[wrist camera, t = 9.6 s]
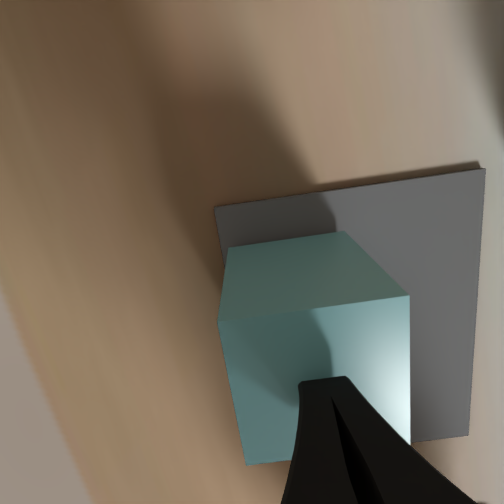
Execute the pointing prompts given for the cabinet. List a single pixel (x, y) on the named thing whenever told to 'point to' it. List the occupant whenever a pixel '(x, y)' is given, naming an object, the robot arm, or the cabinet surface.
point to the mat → (400, 270)
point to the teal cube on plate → (310, 335)
